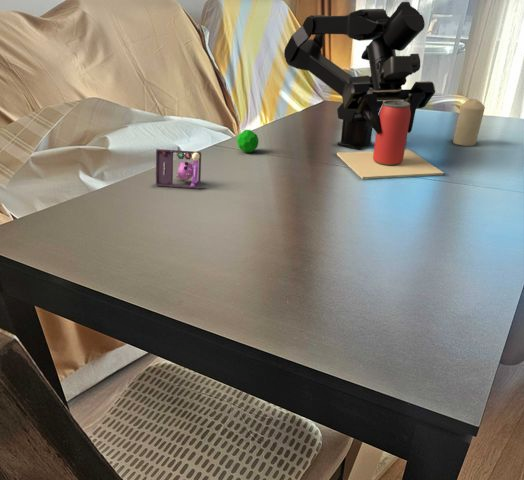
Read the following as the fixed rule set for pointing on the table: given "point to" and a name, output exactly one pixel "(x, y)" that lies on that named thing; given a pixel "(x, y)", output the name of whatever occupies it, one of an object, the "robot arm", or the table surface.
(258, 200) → the table surface
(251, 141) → the polyhedron
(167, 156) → the packaged toy box
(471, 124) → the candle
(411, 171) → the centre mat
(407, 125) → the beer can
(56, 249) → the table surface
